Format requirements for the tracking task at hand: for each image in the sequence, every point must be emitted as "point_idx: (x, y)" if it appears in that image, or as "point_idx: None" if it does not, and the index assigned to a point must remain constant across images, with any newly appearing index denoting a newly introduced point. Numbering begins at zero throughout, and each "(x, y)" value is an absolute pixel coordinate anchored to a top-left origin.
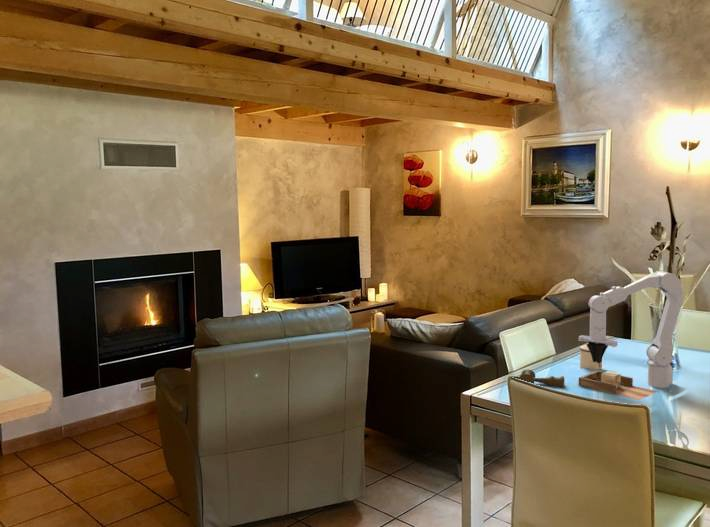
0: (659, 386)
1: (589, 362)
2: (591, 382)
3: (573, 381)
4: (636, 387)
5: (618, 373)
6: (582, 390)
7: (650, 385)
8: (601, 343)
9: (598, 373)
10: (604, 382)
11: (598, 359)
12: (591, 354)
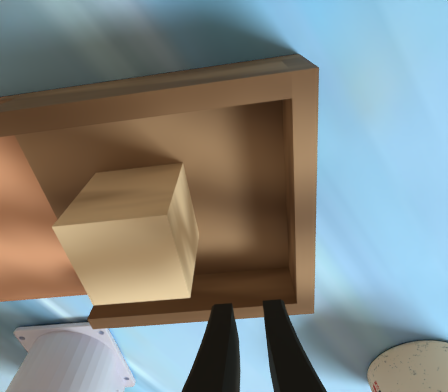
0: (35, 345)
1: (428, 387)
2: (186, 83)
3: (400, 156)
4: (77, 284)
5: (105, 302)
6: (242, 21)
7: (74, 338)
8: None
9: (294, 293)
10: (151, 182)
11: (204, 339)
12: (312, 383)
